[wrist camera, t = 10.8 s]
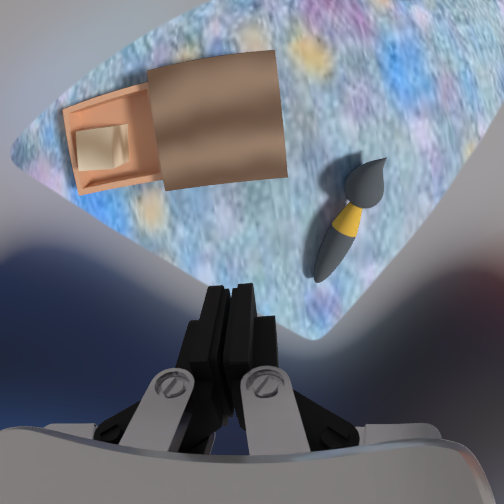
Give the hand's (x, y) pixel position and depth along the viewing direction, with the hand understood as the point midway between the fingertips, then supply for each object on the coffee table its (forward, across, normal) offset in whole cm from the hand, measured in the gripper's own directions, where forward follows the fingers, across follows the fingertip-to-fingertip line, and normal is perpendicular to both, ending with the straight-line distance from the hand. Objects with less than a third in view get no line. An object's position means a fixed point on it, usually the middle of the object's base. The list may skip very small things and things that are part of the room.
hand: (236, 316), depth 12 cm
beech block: (+26, +18, -6) cm, 32 cm away
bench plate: (+29, +3, -7) cm, 30 cm away
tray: (+29, +16, -7) cm, 34 cm away
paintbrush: (+30, -12, +8) cm, 33 cm away
